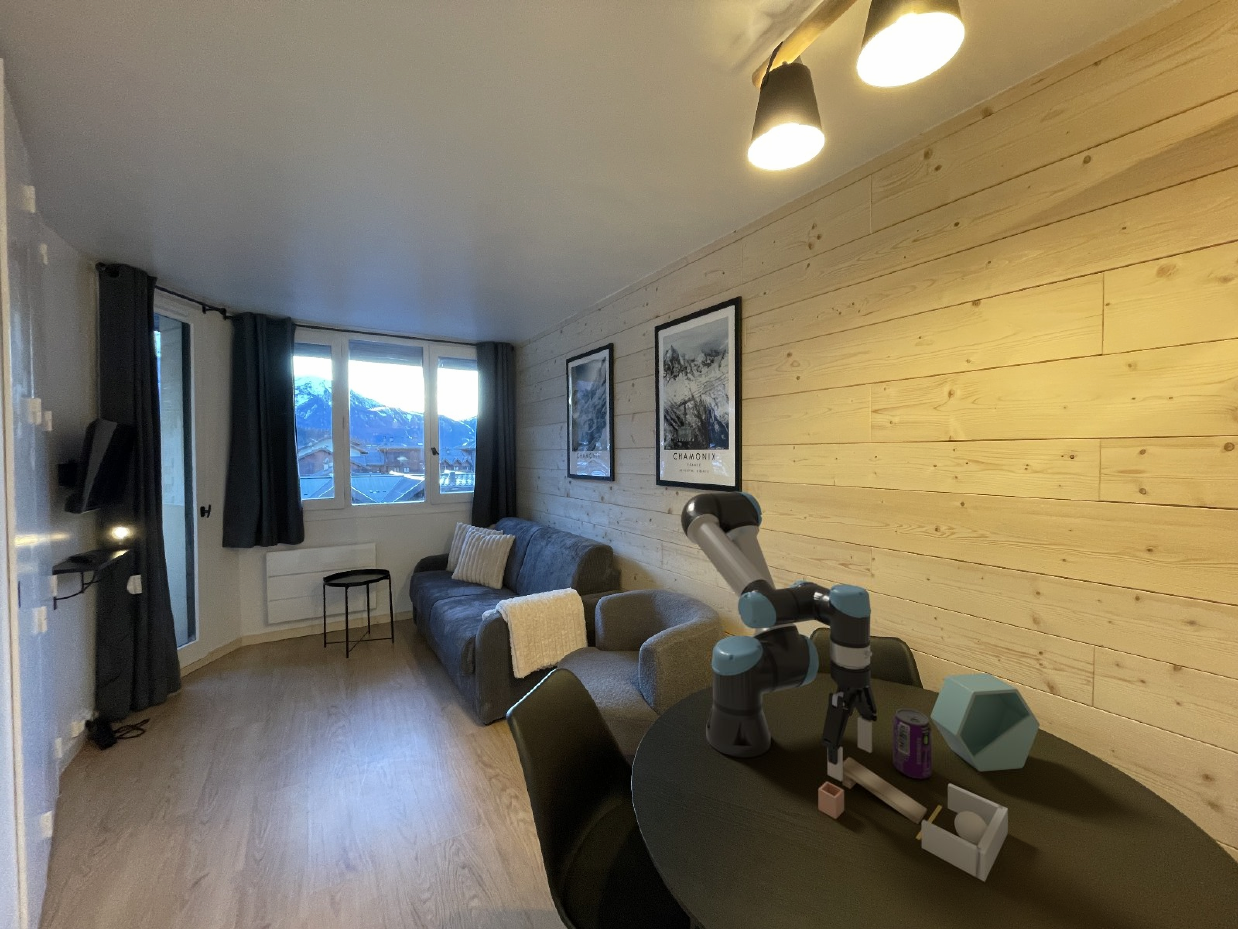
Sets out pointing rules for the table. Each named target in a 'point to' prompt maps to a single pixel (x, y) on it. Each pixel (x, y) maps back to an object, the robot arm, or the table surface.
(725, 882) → the table surface
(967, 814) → the ball
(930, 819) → the line
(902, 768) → the beverage can
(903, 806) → the ramp
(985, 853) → the fence
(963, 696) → the hexagonal wall shelf
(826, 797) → the salmon pink box
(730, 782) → the table surface
